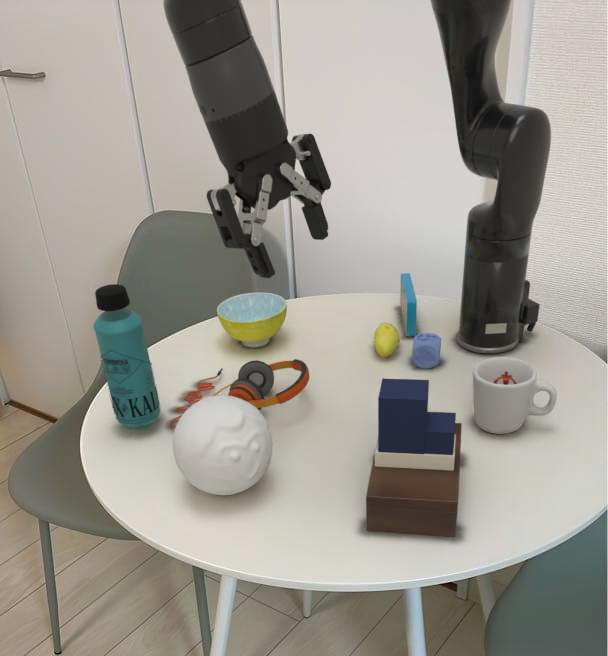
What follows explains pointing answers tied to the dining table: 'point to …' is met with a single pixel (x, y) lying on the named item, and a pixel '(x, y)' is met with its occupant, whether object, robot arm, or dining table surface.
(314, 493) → the dining table surface
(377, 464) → the navy blue block
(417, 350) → the decorative dice
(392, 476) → the brown platform
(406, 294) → the blue rectangular panel
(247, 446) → the decorative ball
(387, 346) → the lemon
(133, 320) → the beverage bottle
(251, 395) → the headphones
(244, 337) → the bowl
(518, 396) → the cup
